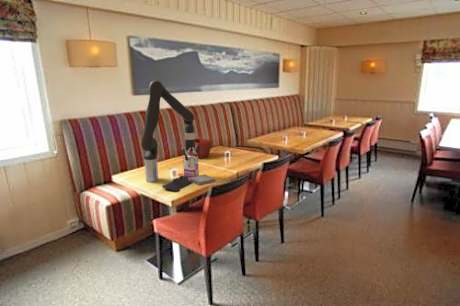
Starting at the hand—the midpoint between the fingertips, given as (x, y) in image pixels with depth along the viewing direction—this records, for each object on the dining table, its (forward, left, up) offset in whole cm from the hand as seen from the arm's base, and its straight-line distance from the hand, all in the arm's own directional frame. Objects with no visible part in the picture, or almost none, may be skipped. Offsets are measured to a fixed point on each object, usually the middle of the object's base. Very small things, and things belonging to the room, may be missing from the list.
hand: (190, 159), depth 228 cm
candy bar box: (0, 0, -14) cm, 14 cm away
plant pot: (-51, +37, -14) cm, 65 cm away
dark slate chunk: (+11, -18, -15) cm, 26 cm away
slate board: (+14, +1, -14) cm, 20 cm away
